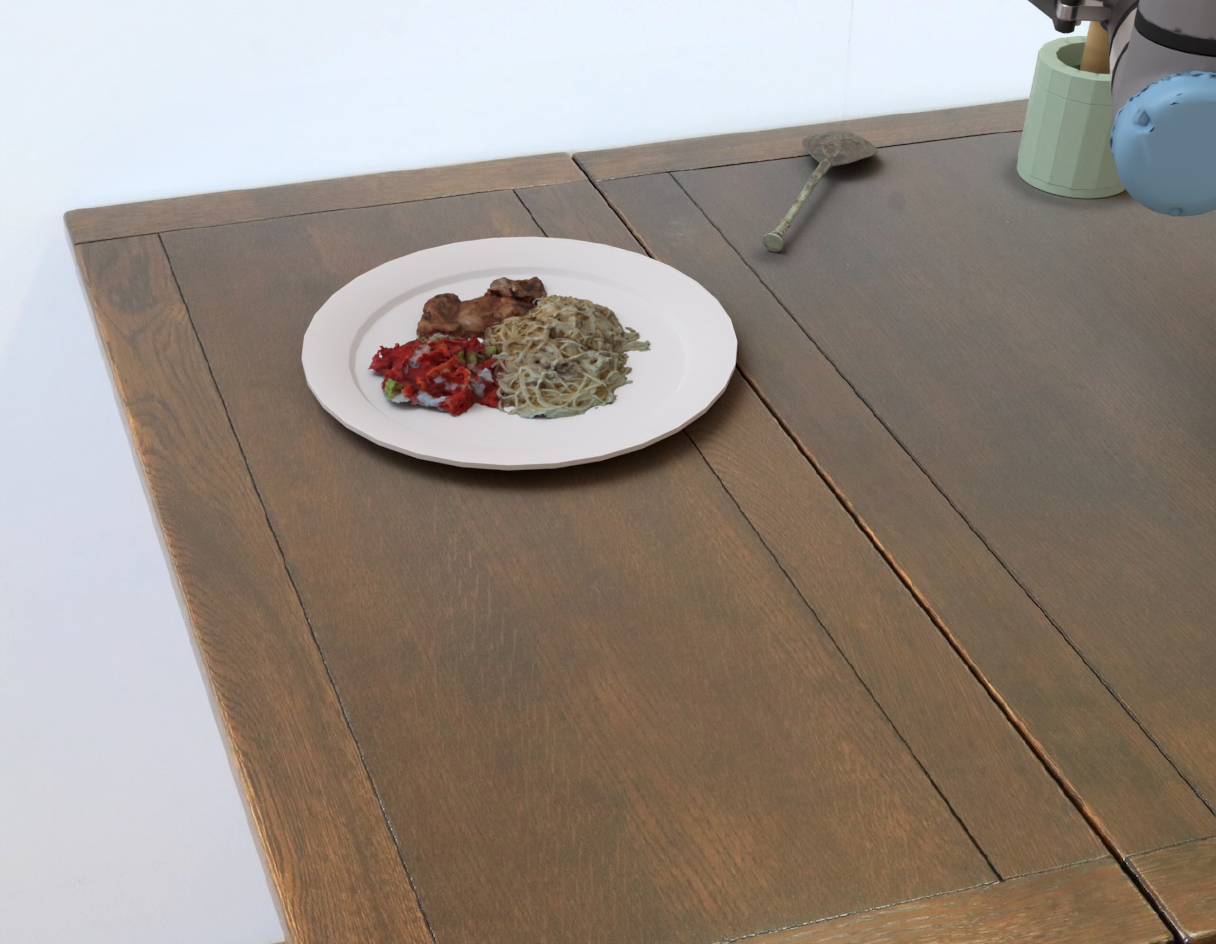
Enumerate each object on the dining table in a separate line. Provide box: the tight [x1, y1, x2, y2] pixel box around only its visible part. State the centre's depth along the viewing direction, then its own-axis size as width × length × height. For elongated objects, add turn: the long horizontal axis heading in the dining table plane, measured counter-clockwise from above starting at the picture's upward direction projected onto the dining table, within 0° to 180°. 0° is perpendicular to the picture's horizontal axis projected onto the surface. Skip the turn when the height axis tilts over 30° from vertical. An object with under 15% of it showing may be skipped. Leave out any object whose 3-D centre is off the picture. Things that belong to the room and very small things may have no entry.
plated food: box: [301, 236, 738, 471], centre depth 103 cm, size 30×30×3 cm
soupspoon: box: [762, 129, 879, 253], centre depth 124 cm, size 22×3×7 cm
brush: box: [1080, 21, 1110, 74], centre depth 121 cm, size 4×4×20 cm
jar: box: [1016, 35, 1126, 199], centre depth 125 cm, size 10×10×10 cm
